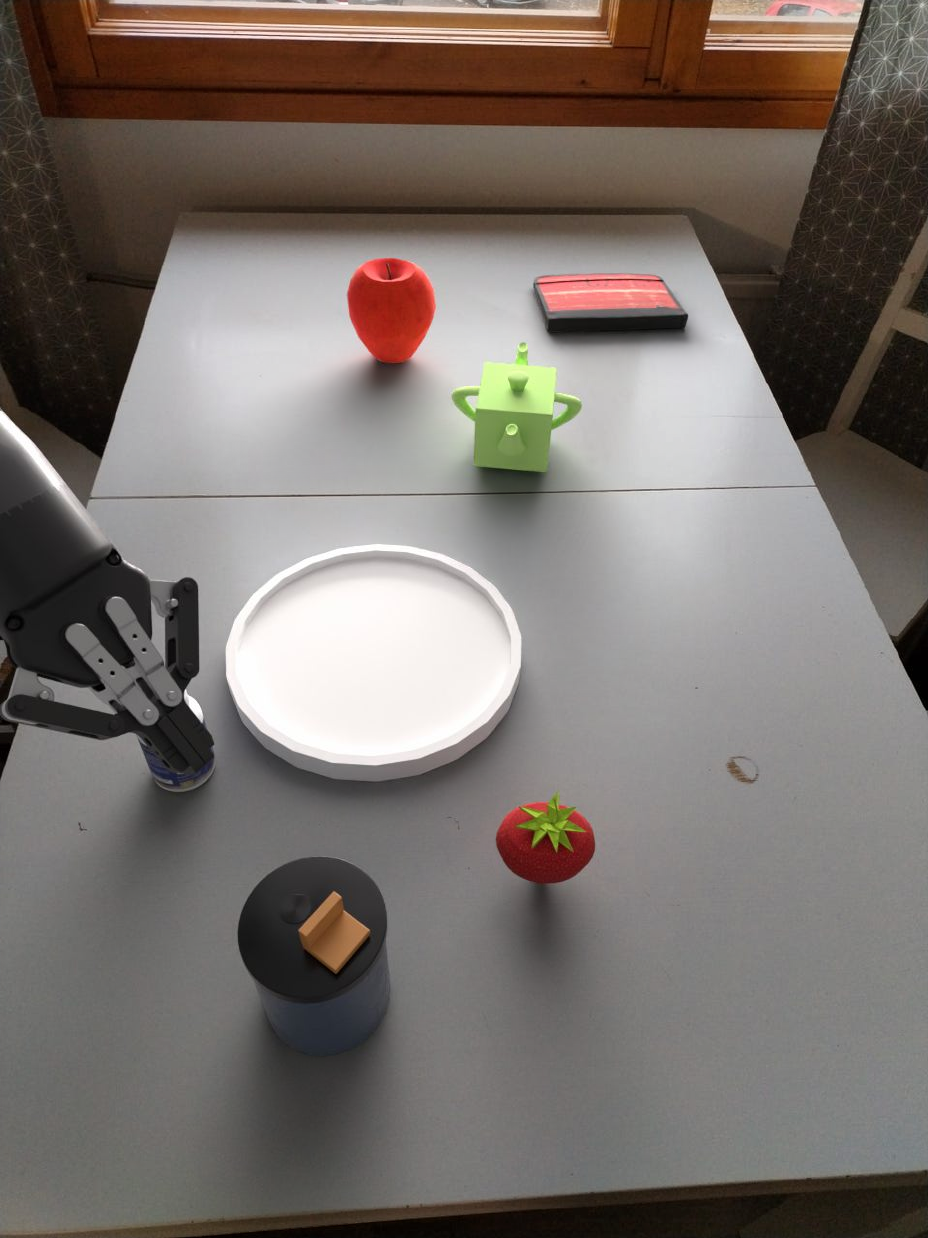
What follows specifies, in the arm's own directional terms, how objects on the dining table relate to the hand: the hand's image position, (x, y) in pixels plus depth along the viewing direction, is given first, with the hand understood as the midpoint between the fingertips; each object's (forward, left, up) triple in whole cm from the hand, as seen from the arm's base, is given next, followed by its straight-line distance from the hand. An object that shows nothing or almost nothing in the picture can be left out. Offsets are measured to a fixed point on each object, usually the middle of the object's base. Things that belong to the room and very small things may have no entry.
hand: (200, 766), depth 52 cm
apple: (+75, +38, -22) cm, 87 cm away
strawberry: (+15, -16, -22) cm, 31 cm away
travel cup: (-1, -7, -22) cm, 23 cm away
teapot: (+64, +13, -22) cm, 69 cm away
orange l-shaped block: (-1, -9, -11) cm, 14 cm away
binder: (+105, +19, -22) cm, 109 cm away
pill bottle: (+8, +15, -22) cm, 28 cm away
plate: (+27, +8, -22) cm, 36 cm away
